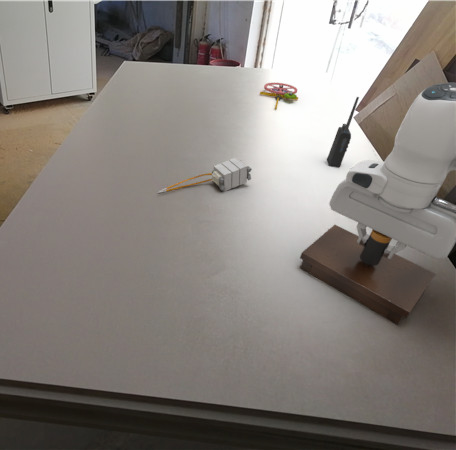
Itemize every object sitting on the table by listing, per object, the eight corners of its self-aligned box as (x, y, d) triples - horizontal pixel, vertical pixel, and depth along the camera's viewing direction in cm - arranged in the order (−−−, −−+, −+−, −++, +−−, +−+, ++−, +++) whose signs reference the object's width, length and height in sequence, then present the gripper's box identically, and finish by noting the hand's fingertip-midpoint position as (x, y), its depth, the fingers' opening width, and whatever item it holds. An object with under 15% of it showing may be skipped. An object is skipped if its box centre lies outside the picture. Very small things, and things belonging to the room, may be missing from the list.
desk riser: (426, 288, 77) (436, 273, 75) (399, 328, 69) (409, 312, 67) (329, 238, 88) (334, 224, 86) (296, 267, 80) (301, 252, 78)
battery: (382, 260, 76) (397, 230, 72) (374, 268, 74) (390, 238, 70) (364, 251, 78) (378, 222, 74) (356, 259, 76) (370, 229, 72)
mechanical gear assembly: (298, 88, 171) (262, 84, 174) (301, 78, 168) (264, 74, 172) (296, 113, 148) (255, 108, 151) (299, 101, 145) (257, 97, 149)
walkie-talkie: (340, 168, 115) (366, 99, 103) (328, 166, 116) (353, 97, 104) (338, 160, 119) (362, 93, 107) (326, 158, 120) (349, 91, 108)
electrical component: (168, 215, 98) (166, 199, 94) (157, 202, 102) (155, 186, 98) (251, 181, 103) (252, 165, 100) (238, 170, 108) (238, 154, 104)
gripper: (483, 206, 62) (440, 271, 71) (354, 157, 73) (330, 218, 82) (472, 221, 59) (428, 288, 67) (339, 167, 70) (315, 230, 78)
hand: (374, 249), depth 74 cm, fingers closed on battery, 3 cm apart
